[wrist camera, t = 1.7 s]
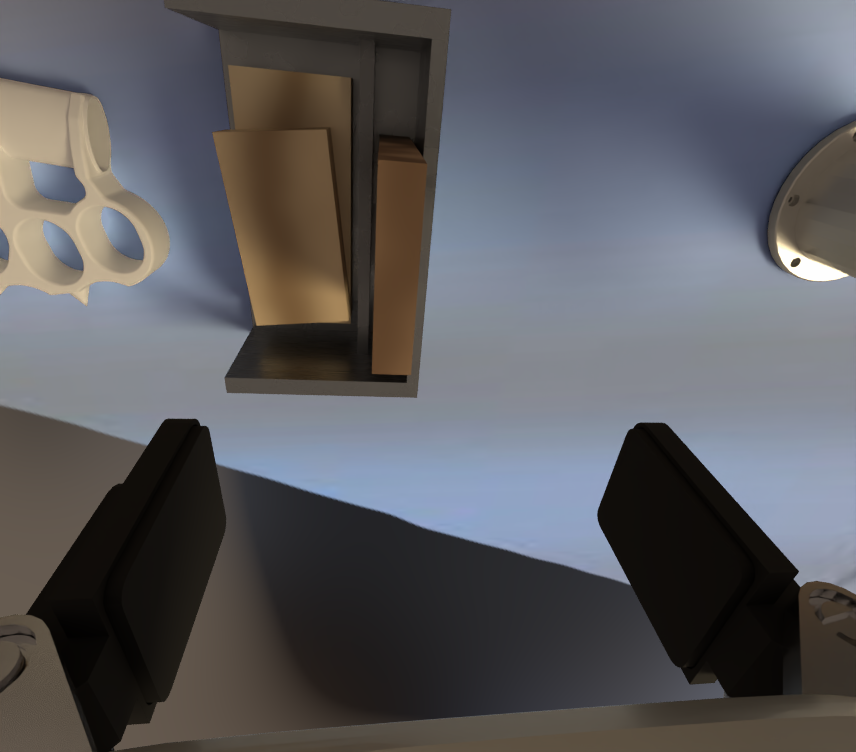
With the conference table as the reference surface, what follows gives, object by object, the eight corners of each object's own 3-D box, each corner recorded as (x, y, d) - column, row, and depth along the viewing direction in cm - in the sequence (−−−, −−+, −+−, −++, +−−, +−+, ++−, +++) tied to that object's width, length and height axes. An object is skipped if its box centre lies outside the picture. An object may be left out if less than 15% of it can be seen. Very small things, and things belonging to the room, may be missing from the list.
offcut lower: (353, 79, 30) (350, 77, 28) (352, 311, 38) (350, 323, 36) (239, 67, 29) (227, 65, 27) (263, 306, 37) (256, 319, 35)
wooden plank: (409, 136, 32) (427, 163, 19) (400, 278, 37) (410, 375, 24) (379, 134, 31) (377, 159, 19) (375, 276, 36) (371, 374, 24)
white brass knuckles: (159, 106, 31) (178, 308, 38) (-162, 44, 28) (-75, 276, 35) (136, 106, 28) (161, 325, 35) (-224, 38, 25) (-116, 292, 32)
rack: (433, 32, 30) (451, 9, 22) (410, 339, 41) (416, 397, 33) (221, 7, 28) (159, -27, 20) (258, 333, 39) (226, 392, 32)
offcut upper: (330, 127, 29) (326, 129, 27) (350, 307, 35) (348, 320, 33) (224, 129, 28) (212, 132, 26) (264, 311, 35) (256, 325, 32)
